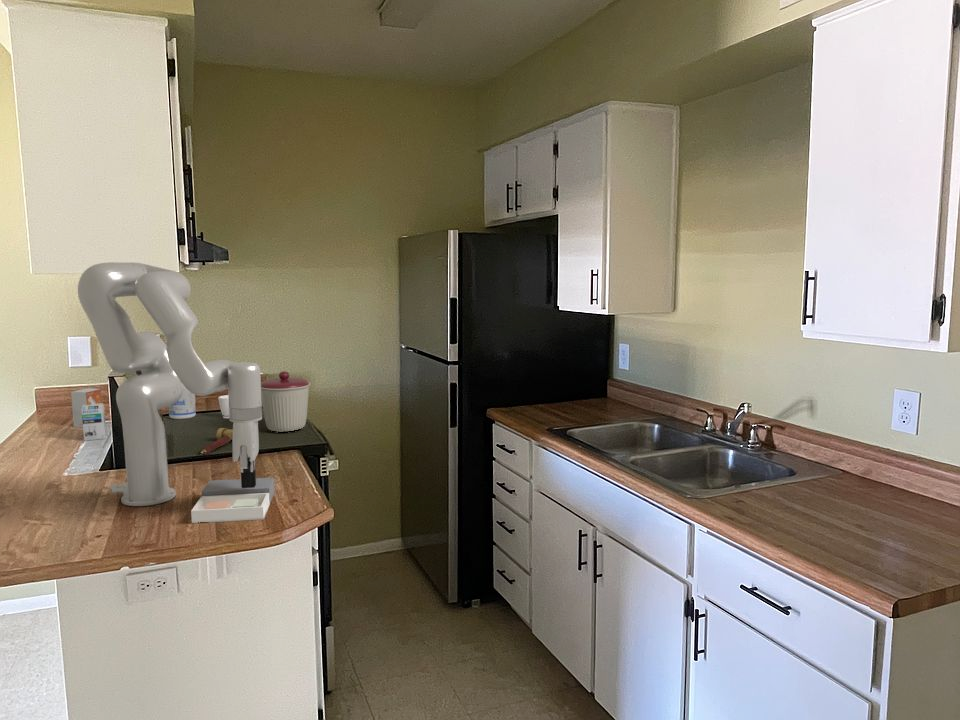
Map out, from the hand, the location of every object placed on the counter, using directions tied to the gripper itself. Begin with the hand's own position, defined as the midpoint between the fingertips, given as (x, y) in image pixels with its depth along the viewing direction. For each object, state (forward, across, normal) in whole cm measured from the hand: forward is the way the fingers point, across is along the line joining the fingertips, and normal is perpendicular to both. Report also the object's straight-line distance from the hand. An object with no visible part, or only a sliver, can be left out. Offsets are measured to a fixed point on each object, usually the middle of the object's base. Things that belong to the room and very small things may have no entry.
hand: (248, 486), depth 176 cm
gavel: (+6, -60, -19) cm, 63 cm away
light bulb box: (+6, -82, -64) cm, 104 cm away
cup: (+6, -106, -23) cm, 109 cm away
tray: (+5, +5, -3) cm, 8 cm away
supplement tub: (+6, -110, -42) cm, 118 cm away
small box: (+6, -102, -74) cm, 126 cm away
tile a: (+2, +6, -6) cm, 9 cm away
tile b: (+2, +6, 0) cm, 6 cm away
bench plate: (+5, -5, -3) cm, 8 cm away
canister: (+5, -81, 0) cm, 81 cm away
